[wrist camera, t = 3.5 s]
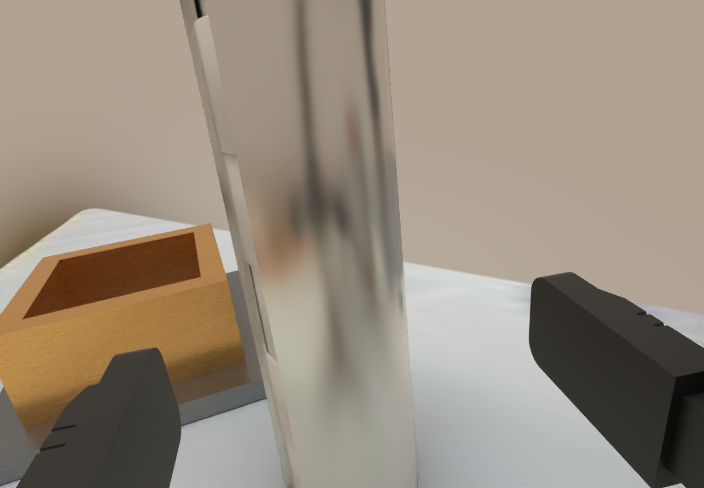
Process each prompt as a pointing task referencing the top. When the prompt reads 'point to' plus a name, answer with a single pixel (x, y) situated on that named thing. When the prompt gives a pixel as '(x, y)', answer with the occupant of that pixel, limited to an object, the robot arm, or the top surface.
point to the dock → (123, 333)
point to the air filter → (314, 226)
